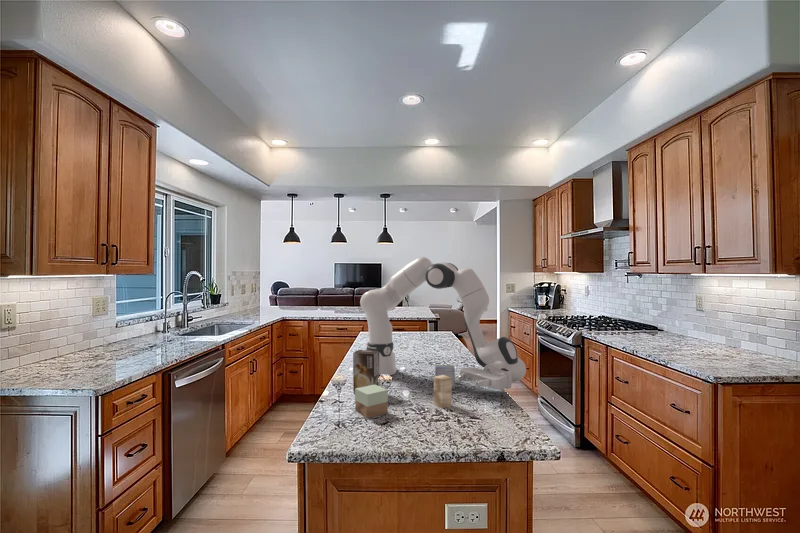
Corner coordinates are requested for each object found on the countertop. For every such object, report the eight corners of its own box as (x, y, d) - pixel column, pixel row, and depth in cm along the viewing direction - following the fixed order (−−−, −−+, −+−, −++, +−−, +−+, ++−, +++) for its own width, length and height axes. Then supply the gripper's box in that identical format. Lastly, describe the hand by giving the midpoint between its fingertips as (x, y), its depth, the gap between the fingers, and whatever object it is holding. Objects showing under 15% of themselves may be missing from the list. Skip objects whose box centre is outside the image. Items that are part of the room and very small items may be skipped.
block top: (355, 400, 137) (355, 388, 137) (374, 395, 141) (374, 384, 141) (367, 406, 130) (367, 394, 130) (387, 401, 135) (387, 389, 135)
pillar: (433, 404, 143) (433, 376, 143) (443, 402, 145) (443, 374, 145) (441, 408, 139) (441, 379, 139) (451, 406, 142) (451, 377, 142)
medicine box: (454, 385, 166) (454, 365, 166) (454, 389, 161) (454, 367, 161) (435, 385, 167) (435, 364, 167) (435, 388, 162) (435, 367, 162)
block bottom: (355, 411, 137) (355, 399, 137) (375, 407, 142) (375, 395, 142) (366, 418, 130) (366, 406, 130) (387, 413, 135) (387, 402, 135)
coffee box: (380, 391, 159) (380, 350, 159) (374, 396, 152) (374, 354, 152) (358, 389, 161) (358, 349, 161) (352, 394, 155) (352, 352, 155)
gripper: (474, 362, 166) (449, 366, 158) (514, 372, 149) (488, 378, 141) (474, 377, 165) (449, 382, 158) (514, 389, 149) (488, 396, 141)
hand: (468, 380), depth 149 cm, fingers open, 8 cm apart
